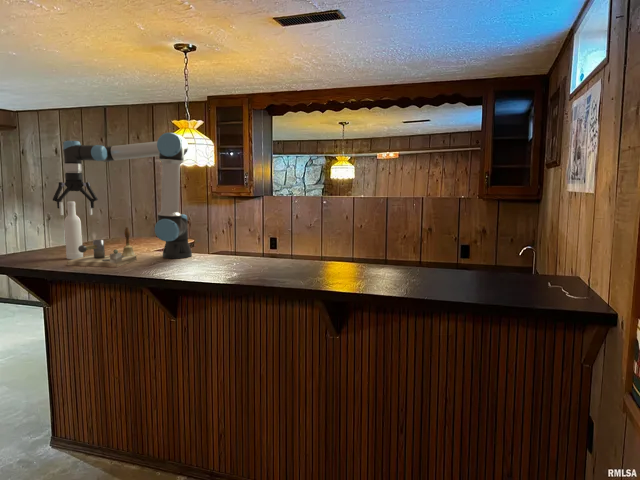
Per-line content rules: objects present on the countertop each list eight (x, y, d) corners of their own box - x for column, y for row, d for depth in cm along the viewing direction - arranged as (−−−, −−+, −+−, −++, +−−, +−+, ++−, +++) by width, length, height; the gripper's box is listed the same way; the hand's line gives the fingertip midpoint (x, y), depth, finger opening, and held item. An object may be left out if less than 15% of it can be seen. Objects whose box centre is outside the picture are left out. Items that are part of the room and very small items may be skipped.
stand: (136, 260, 235) (135, 244, 234) (117, 266, 217) (116, 250, 216) (89, 258, 238) (88, 243, 237) (67, 265, 220) (65, 249, 219)
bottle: (67, 257, 242) (63, 201, 238) (83, 256, 245) (80, 201, 241) (65, 259, 235) (61, 202, 231) (83, 258, 238) (79, 201, 234)
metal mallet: (99, 256, 233) (98, 239, 231) (107, 256, 231) (106, 239, 230) (76, 261, 219) (74, 243, 217) (84, 262, 217) (83, 243, 216)
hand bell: (116, 257, 243) (115, 227, 241) (127, 254, 251) (126, 226, 249) (129, 258, 241) (128, 228, 239) (140, 255, 249) (138, 226, 247)
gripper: (102, 172, 231) (104, 214, 234) (49, 172, 227) (52, 214, 230) (98, 172, 224) (100, 215, 227) (43, 172, 219) (46, 215, 222)
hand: (76, 215), depth 228 cm, fingers open, 13 cm apart
